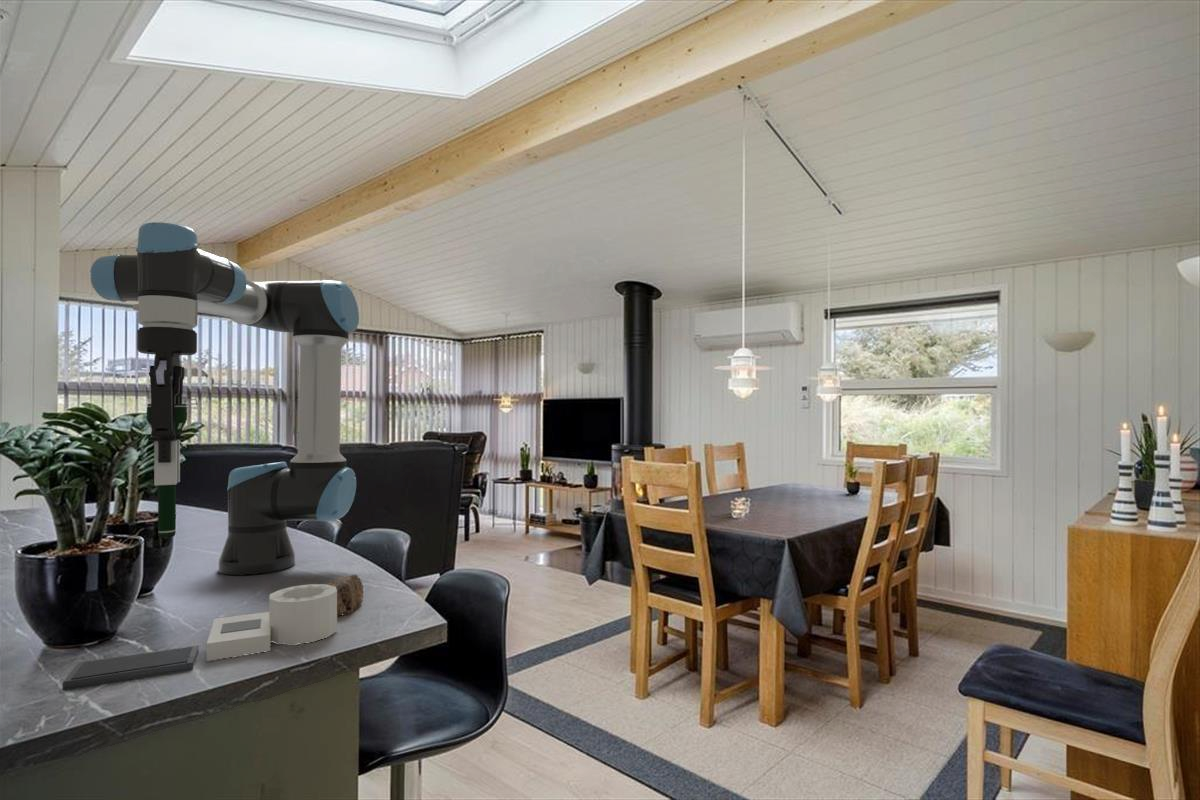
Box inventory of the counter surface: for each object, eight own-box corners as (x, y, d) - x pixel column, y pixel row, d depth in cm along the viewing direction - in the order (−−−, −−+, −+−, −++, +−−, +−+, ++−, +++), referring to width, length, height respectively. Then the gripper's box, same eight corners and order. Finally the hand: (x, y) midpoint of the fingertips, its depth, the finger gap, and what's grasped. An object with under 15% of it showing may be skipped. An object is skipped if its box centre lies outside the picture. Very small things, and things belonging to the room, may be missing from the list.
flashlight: (143, 536, 97) (143, 404, 97) (182, 531, 101) (183, 404, 101) (149, 541, 93) (150, 403, 94) (190, 536, 97) (190, 403, 97)
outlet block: (214, 634, 102) (214, 593, 102) (333, 618, 109) (333, 579, 109) (206, 661, 91) (206, 615, 91) (339, 641, 98) (339, 598, 99)
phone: (78, 669, 88) (78, 661, 88) (198, 652, 94) (198, 644, 94) (62, 689, 82) (62, 681, 82) (192, 669, 88) (192, 661, 88)
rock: (359, 617, 111) (359, 583, 111) (293, 623, 108) (293, 588, 108) (364, 592, 125) (364, 563, 125) (306, 597, 122) (306, 566, 122)
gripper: (148, 332, 103) (147, 479, 102) (125, 320, 89) (125, 491, 89) (203, 334, 106) (202, 477, 106) (189, 323, 92) (189, 487, 92)
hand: (167, 483), depth 97 cm, fingers closed on flashlight, 2 cm apart
